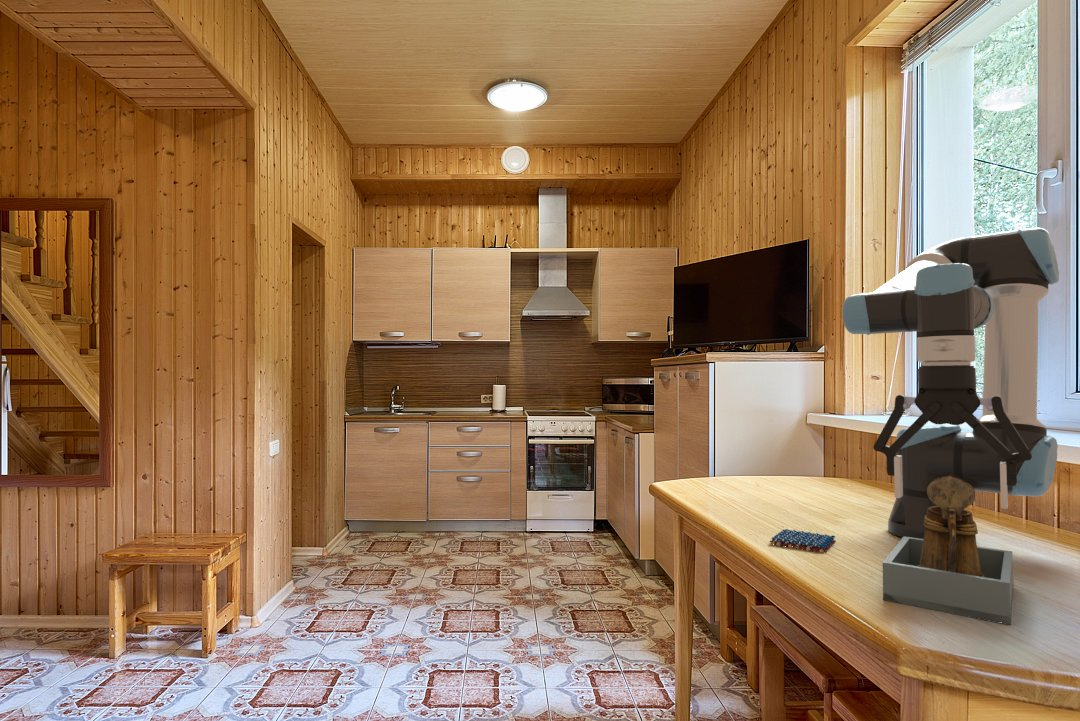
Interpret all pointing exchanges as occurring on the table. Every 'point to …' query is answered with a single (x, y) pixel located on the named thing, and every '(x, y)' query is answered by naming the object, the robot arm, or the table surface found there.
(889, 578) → the bin
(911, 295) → the robot arm
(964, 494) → the wooden mug
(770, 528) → the table surface
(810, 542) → the woven mat
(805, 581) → the table surface
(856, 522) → the table surface
